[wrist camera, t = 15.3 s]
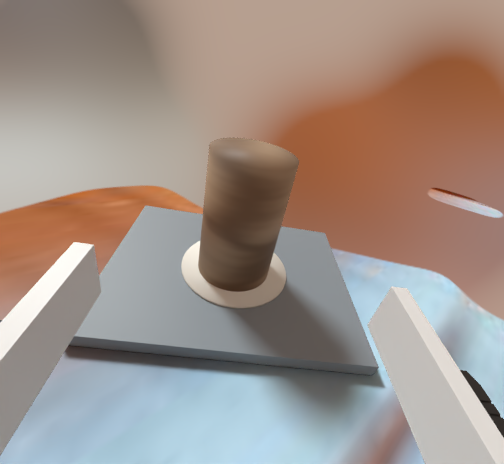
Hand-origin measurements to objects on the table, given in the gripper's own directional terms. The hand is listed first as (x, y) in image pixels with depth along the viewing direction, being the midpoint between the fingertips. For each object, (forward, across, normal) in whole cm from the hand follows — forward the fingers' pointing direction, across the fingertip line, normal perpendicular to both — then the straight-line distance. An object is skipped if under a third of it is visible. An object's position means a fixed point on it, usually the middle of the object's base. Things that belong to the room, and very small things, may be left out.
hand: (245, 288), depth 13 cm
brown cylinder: (+9, 0, -7) cm, 11 cm away
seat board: (+9, 0, -8) cm, 12 cm away
